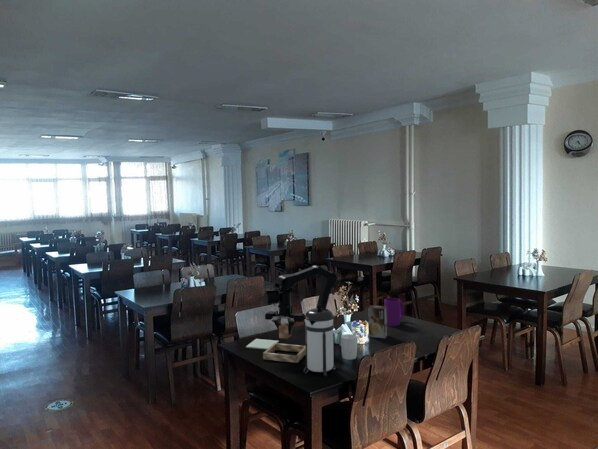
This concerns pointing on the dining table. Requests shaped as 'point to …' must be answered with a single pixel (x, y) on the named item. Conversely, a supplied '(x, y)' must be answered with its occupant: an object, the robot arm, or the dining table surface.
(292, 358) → the pine frame
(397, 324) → the mug
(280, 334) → the terracotta block
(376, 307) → the coffee box
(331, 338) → the coffee press
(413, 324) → the dining table surface
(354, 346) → the white cup
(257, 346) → the sage board
